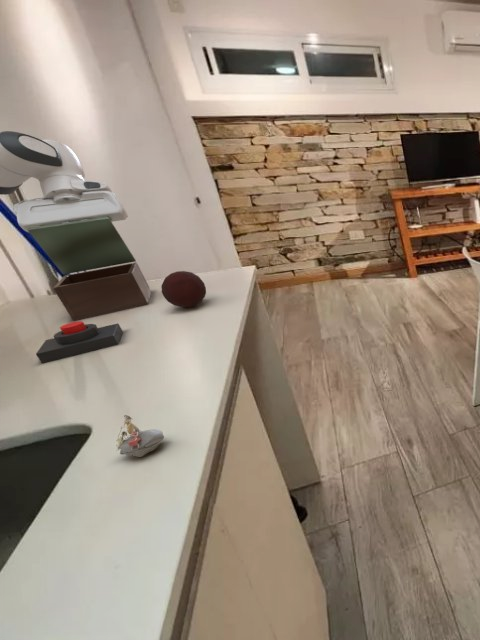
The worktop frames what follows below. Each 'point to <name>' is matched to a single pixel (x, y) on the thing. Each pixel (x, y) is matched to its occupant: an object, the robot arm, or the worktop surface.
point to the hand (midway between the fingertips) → (81, 237)
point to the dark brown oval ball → (183, 289)
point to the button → (73, 327)
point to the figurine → (138, 440)
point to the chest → (103, 291)
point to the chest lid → (83, 245)
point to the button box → (79, 342)
